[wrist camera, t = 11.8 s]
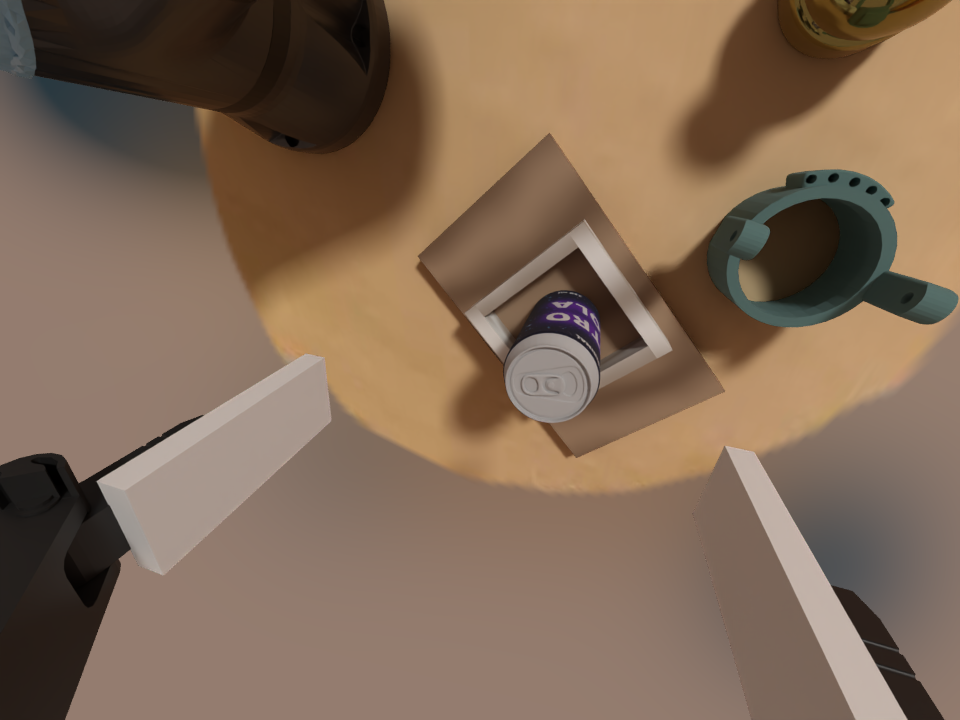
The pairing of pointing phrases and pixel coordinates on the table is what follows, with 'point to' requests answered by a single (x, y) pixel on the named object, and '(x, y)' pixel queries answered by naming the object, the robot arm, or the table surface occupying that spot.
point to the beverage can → (555, 358)
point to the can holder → (575, 267)
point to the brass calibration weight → (848, 23)
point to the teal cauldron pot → (854, 265)
